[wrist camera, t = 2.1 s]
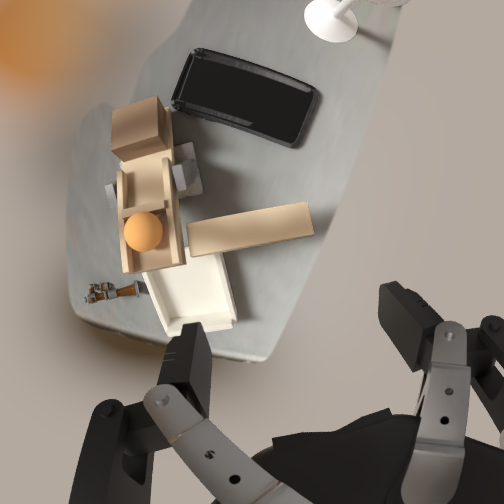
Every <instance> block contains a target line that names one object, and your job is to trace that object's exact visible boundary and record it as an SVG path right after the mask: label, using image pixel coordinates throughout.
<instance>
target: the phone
mask: <svg viewBox="0 0 504 504" xmlns="http://www.w3.org/2000/svg"><path fill="white" fill-rule="evenodd" d="M317 100H318V91H317V90H316V88H315V87H313V86H311V85H309V84H307V83H305V82H302V81H300V80H297V79H295V78H293V77H290V76H288V75H285V74H283V73H280V72H277V71H275V70H272V69H269V68H266V67H264V66H261V65H258V64H255V63H252V62H249V61H246V60H243V59H240V58H236V57H233V56H230V55H226V54H223V53H219V52H216V51H212V50H208V49H204V48H196V49H194V50H193V51H191V52H190V54H189V56H188V58H187V61H186V63H185V65H184V68H183V70H182V73H181V75H180V78H179V80H178V83H177V85H176V88H175V90H174V93H173V96H172V99H171V105H172V107H173V108H174V109H176V110H178V111H182V112H185V113H186V114H192V115H195V116H196V117H200V118H206V120H209V121H212V122H213V121H216V122H219V123H222V124H225V125H228V126H231V127H234V128H237V129H240V130H243V131H245V132H248V133H251V134H254V135H257V136H259V137H262V138H265V139H267V140H270V141H273V142H275V143H278V144H280V145H283V146H286V147H289V148H294V147H296V146H297V145H299V143H300V142H301V139H302V137H303V134H304V132H305V129H306V127H307V124H308V122H309V119H310V117H311V115H312V112H313V110H314V107H315V105H316V102H317Z"/></svg>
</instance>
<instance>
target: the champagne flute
mask: <svg viewBox="0 0 504 504" xmlns="http://www.w3.org/2000/svg"><path fill="white" fill-rule="evenodd" d="M358 1H359V0H343V1H342V2H341V3H340V2H339V1H336V0H314V1H313V2H311V3H310V4H309V5H308V6H307V7H306V9H305V21H306V24H307V26H308V27H309V28H310V30H311V31H312V32H313V33H314V34H315V35H317V36H318V37H320V38H321V39H323V40H326V41H329V42H333V43H342V42H346V41H349V40H351V39H352V38H353V37H354V36H355V34H356V32H357V29H358V23H357V20H356V17H355V15H354V14H353V12H352V11H351V10H350V8H351V7H352V6H353V5H355V4H356V3H357V2H358ZM367 1H369V2H372V3H375V4H378V5H384V6H400V5H404V4H405V3H407V2H409V1H410V0H367Z"/></svg>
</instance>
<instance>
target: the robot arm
mask: <svg viewBox="0 0 504 504" xmlns="http://www.w3.org/2000/svg"><path fill="white" fill-rule="evenodd" d="M378 317H379V322H380V324H381V326H382V328H383V329H384V331H385V332H386V333H387V335H388V336H389V337H390V339H391V341H392V342H393V344H394V345H395V346H396V348H397V349H398V351H399V352H400V354H401V355H402V357H403V358H404V360H405V361H406V363H407V364H408V366H409V367H410V369H411V371H412V372H416V371H418V370H420V369H422V370H423V371H424V374H423V377H422V382H421V386H420V391H419V396H418V400H417V404H416V407H415V411H414V414H413V415H404V414H396V415H392V413H391V411H390V409H389V408H386V409H384V410H381V411H378V412H375V413H372V414H369V415H366V416H363V417H361V418H359V419H357V420H355V421H354V422H352V423H350V424H348V425H347V426H344V427H342V428H341V429H339V430H336V431H332V432H301V433H297V434H292V435H286V436H280V437H275V438H272V442H273V446H271V447H269V448H266V449H264V450H262V451H260V452H259V453H257V454H255V455H254V456H253V457H252V458H250V457H248V456H247V455H246V454H245V453H244V452H243V451H242V450H240V449H239V448H238V447H237V446H236V445H235V444H234V443H233V442H232V441H231V440H229V438H228V437H226V436H225V435H224V434H223V433H222V432H221V431H220V430H219V429H218V428H217V427H216V426H215V425H214V424H213V423H212V422H211V421H210V420H209V404H210V388H211V372H212V353H211V349H210V346H209V343H208V340H207V338H206V335H205V332H204V329H203V326H202V324H201V322H194V323H187V324H183V326H182V330H181V334H180V336H175V337H173V338H172V340H171V341H170V342H169V343H168V345H167V348H166V352H165V356H164V359H163V361H164V362H163V363H162V367H161V371H160V374H159V378H158V382H157V386H155V387H153V388H151V389H150V390H149V391H148V392H147V393H146V394H145V396H144V399H143V401H141V402H138V403H135V404H131V405H128V406H123V404H122V403H121V402H119V401H118V400H116V399H108V400H105V401H103V402H101V403H100V404H98V405H97V406H96V407H95V409H94V411H93V413H92V416H91V420H90V423H89V426H88V429H87V433H86V436H85V439H84V443H83V446H82V450H81V454H80V457H79V461H78V465H77V469H76V473H75V477H74V482H73V486H72V490H71V494H70V499H69V504H150V496H151V483H152V471H153V461H154V452H155V451H159V450H162V449H166V448H169V447H173V448H174V450H175V451H176V452H177V454H178V455H179V456H180V458H181V459H182V460H183V461H184V463H185V464H186V465H187V466H188V467H189V469H190V470H191V471H192V472H193V473H194V475H195V476H196V477H197V478H198V479H199V480H200V482H201V483H202V484H203V485H204V486H205V487H206V488H207V489H208V490H209V491H210V493H211V494H212V495H213V496H214V497H215V498H216V499H215V500H214V501H213V502H212V503H211V504H504V377H503V376H502V375H501V373H500V372H499V371H498V369H497V368H496V367H495V365H494V364H495V362H496V360H497V361H498V362H499V364H500V365H501V366H502V367H503V369H504V319H502V318H500V317H498V316H493V315H490V316H486V317H485V318H483V319H482V322H481V325H480V327H479V328H472V329H465V328H464V327H463V326H462V325H461V324H459V323H457V322H454V321H444V320H443V319H442V318H441V317H440V316H439V315H438V314H437V313H436V312H435V310H434V309H433V308H432V307H431V306H430V305H429V306H428V303H427V302H426V301H425V300H423V298H422V297H421V296H420V295H419V294H417V293H416V292H414V291H412V290H410V289H404V288H403V287H402V286H401V285H400V284H399V283H398V282H397V281H393V282H390V283H386V284H382V285H380V288H379V306H378ZM470 385H471V386H472V388H473V389H474V391H475V392H476V394H477V395H478V397H479V399H480V400H481V402H482V403H483V405H484V407H485V408H486V410H487V411H488V413H489V415H490V417H491V418H492V420H493V422H494V423H495V425H496V427H497V429H498V430H499V432H500V434H501V435H500V447H499V448H497V447H494V446H491V445H488V444H485V443H483V442H480V441H477V440H475V439H472V438H469V437H467V436H465V432H466V425H467V417H468V407H469V396H470Z"/></svg>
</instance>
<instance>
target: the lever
mask: <svg viewBox="0 0 504 504" xmlns="http://www.w3.org/2000/svg"><path fill="white" fill-rule="evenodd" d="M111 151H112V152H113V153H114V154H115V155H116V156H117V157H119V158H120V159H121V160H122V170H120V171H117V202H118V222H119V236H120V248H121V258H122V267H123V273H128V274H137V273H143V272H148V271H154V270H160V269H165V268H171V267H176V266H182V265H187V263H186V256H185V249H184V242H183V234H182V226H181V218H180V210H179V201H178V191H177V187H176V183H175V179H174V174H173V170H172V166H174V165H175V160H174V147H173V134H172V118H171V111H170V109H169V107H167V108H164V107H163V105H162V103H161V101H160V100H159V98H158V96H154V97H151V98H148V99H145V100H142V101H139V102H136V103H133V104H130V105H127V106H124V107H122V108H119V109H116V110H113V118H112V133H111ZM144 211H145V212H150V213H152V214H154V215H155V216H156V217H158V219H159V220H160V222H161V224H162V227H163V235H162V239H161V241H160V243H159V244H158V245H157V246H156V247H155V248H154V249H152V250H150V251H147V252H140V251H136V250H134V249H133V248H131V247H130V246H129V245H128V243H127V242H126V240H125V236H124V227H125V224H126V222H127V220H128V219H129V218H130V217H131V216H132V215H133V214H135V213H138V212H144ZM186 229H187V236H188V244H189V251H190V257H192V258H195V257H200V256H206V255H211V254H217V253H222V252H228V251H233V250H238V249H244V248H249V247H255V246H260V245H266V244H271V243H277V242H282V241H288V240H293V239H299V238H305V237H310V236H313V235H314V230H313V225H312V221H311V216H310V212H309V207H308V203H307V201H306V202H300V203H294V204H288V205H282V206H277V207H271V208H265V209H260V210H254V211H249V212H244V213H238V214H233V215H228V216H223V217H217V218H212V219H207V220H202V221H198V222H193V223H188V224H186Z"/></svg>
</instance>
